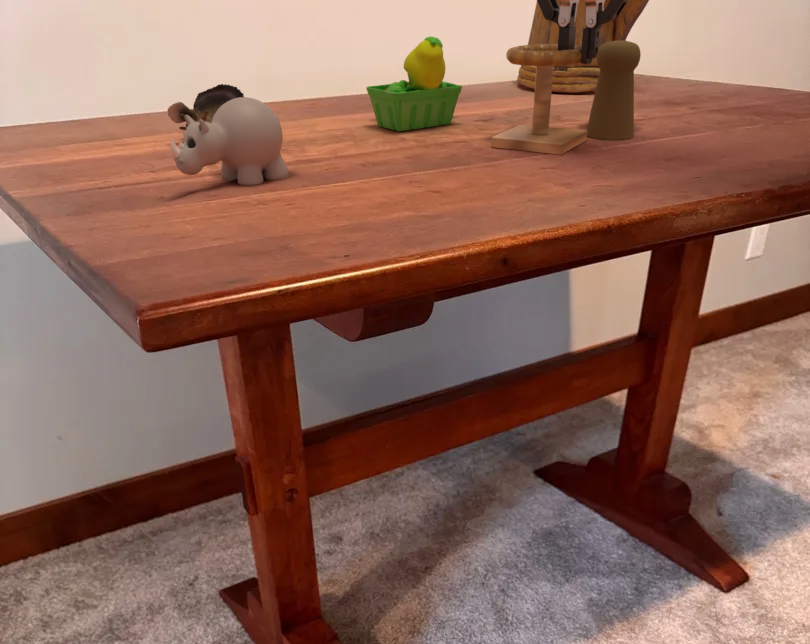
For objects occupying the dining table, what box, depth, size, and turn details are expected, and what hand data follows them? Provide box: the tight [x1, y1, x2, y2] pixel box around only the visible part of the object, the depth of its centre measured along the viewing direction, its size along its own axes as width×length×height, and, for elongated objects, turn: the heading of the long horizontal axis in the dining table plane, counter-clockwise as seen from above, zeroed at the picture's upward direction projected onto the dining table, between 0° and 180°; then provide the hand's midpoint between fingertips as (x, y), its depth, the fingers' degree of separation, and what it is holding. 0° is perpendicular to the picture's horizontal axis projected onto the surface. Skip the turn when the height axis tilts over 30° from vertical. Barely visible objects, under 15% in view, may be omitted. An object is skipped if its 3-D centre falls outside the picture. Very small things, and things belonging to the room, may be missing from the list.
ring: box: [505, 44, 582, 66], centre depth 93 cm, size 9×9×2 cm
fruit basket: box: [365, 36, 463, 132], centre depth 106 cm, size 11×9×11 cm
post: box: [490, 66, 588, 156], centre depth 96 cm, size 9×9×9 cm
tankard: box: [516, 0, 650, 94], centre depth 130 cm, size 18×24×25 cm
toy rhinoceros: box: [170, 96, 290, 186], centre depth 80 cm, size 7×12×8 cm, turn 129°
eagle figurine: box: [167, 83, 245, 132], centre depth 101 cm, size 8×7×9 cm
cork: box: [585, 40, 642, 141], centre depth 100 cm, size 6×6×11 cm
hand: (576, 62), depth 92 cm, fingers closed on ring, 1 cm apart
